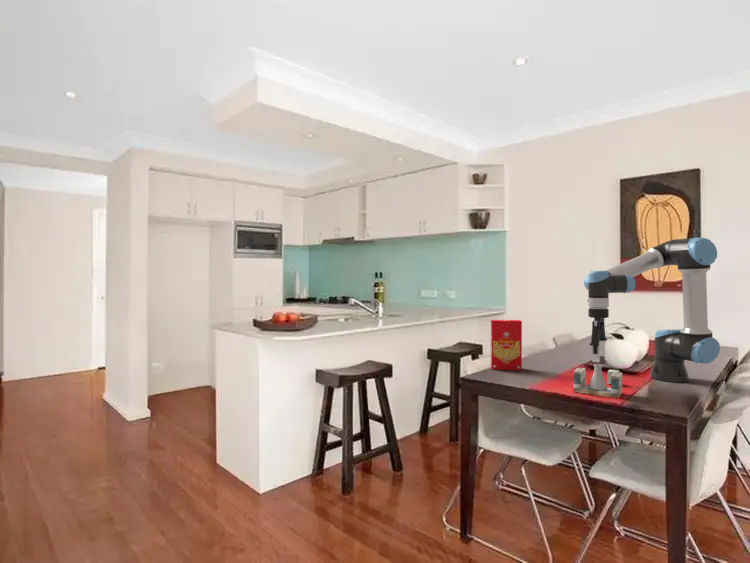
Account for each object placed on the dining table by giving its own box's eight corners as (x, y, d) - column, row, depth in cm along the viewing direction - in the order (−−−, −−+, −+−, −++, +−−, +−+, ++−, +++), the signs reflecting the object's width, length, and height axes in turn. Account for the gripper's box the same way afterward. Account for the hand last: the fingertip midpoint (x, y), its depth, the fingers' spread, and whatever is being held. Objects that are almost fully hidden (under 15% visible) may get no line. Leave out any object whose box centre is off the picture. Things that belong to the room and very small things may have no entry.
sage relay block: (619, 383, 203) (619, 370, 202) (617, 386, 199) (617, 372, 198) (609, 382, 205) (609, 369, 205) (607, 384, 201) (607, 371, 201)
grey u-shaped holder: (622, 393, 187) (622, 372, 187) (619, 398, 179) (619, 377, 179) (577, 386, 197) (578, 367, 197) (573, 392, 189) (573, 371, 189)
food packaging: (491, 369, 232) (491, 320, 231) (490, 367, 237) (490, 319, 237) (521, 370, 230) (521, 321, 229) (519, 368, 235) (520, 320, 234)
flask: (584, 386, 191) (585, 363, 191) (601, 386, 192) (601, 362, 192) (594, 391, 184) (594, 366, 184) (611, 390, 185) (611, 366, 184)
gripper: (593, 305, 200) (593, 353, 200) (582, 310, 179) (583, 363, 180) (612, 305, 195) (612, 354, 196) (603, 310, 175) (603, 365, 175)
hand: (598, 358), depth 188 cm, fingers open, 13 cm apart
